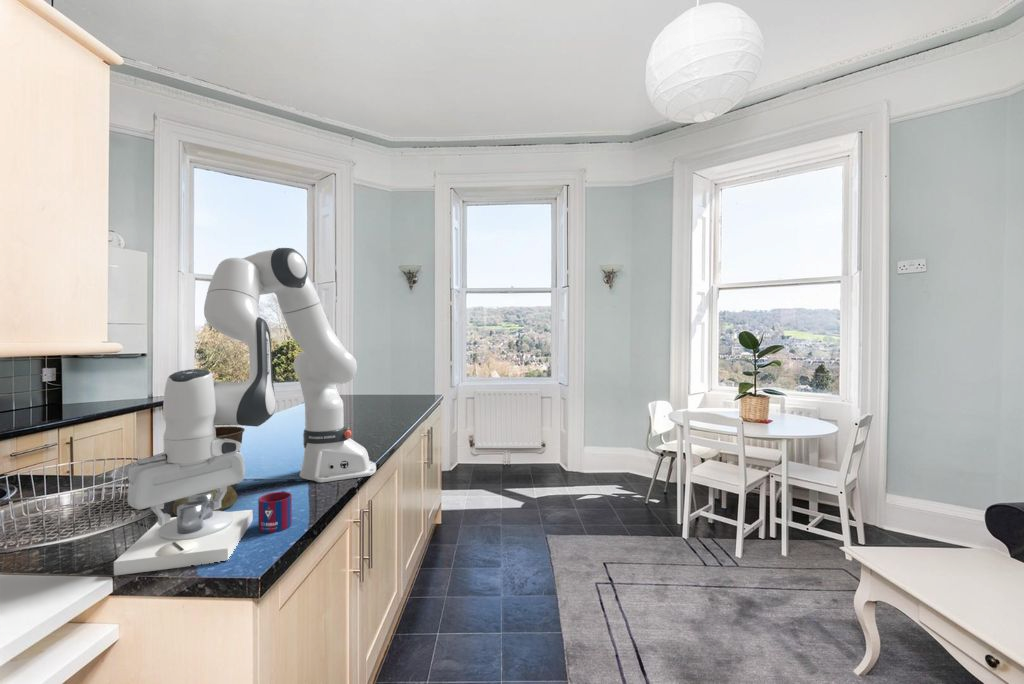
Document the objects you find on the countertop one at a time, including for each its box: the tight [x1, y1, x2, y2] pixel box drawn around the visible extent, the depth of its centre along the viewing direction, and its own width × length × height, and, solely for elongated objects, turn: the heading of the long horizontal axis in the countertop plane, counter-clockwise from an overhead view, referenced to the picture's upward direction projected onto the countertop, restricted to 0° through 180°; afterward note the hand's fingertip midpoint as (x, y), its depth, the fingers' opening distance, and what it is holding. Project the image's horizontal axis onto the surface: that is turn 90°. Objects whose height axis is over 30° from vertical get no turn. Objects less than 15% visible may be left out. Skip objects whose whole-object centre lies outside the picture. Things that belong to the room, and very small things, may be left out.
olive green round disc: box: [172, 485, 238, 516], centre depth 114 cm, size 14×13×5 cm
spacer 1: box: [188, 491, 213, 520], centre depth 100 cm, size 4×4×5 cm
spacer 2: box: [176, 501, 203, 534], centre depth 94 cm, size 4×4×5 cm
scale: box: [113, 509, 254, 576], centre depth 94 cm, size 18×20×3 cm
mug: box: [257, 490, 293, 534], centre depth 105 cm, size 7×10×7 cm
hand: (191, 516), depth 94 cm, fingers open, 8 cm apart
